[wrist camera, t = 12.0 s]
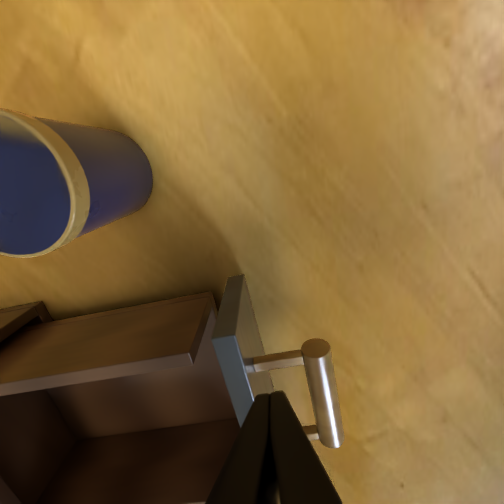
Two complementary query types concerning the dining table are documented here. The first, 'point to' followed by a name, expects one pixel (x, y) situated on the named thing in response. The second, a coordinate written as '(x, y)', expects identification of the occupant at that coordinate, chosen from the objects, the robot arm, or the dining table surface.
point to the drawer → (143, 399)
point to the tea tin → (64, 182)
